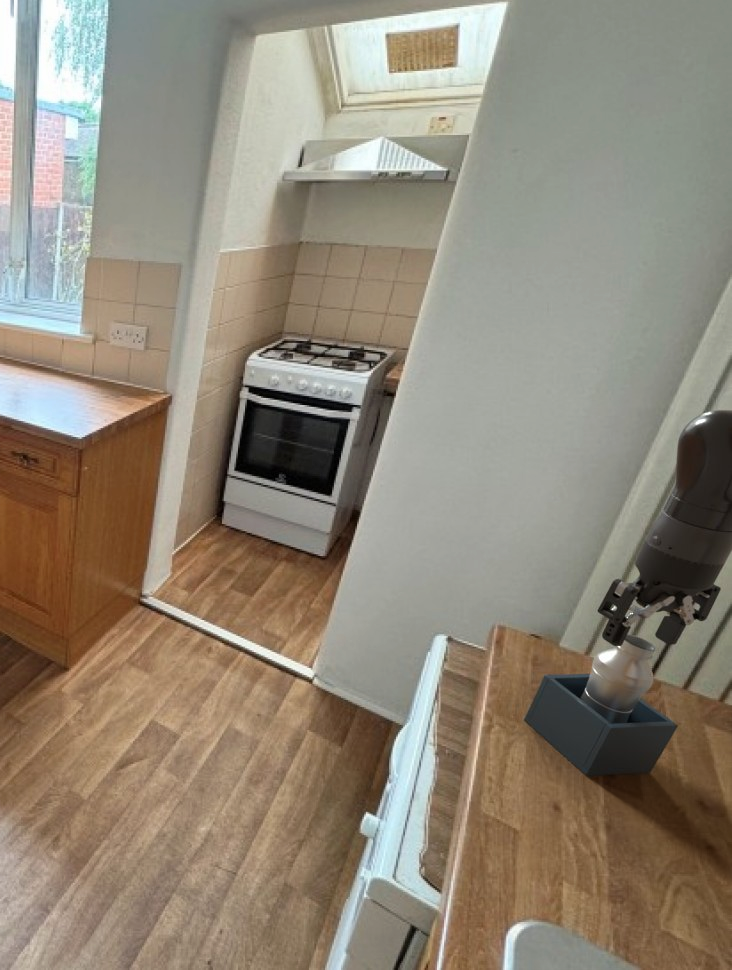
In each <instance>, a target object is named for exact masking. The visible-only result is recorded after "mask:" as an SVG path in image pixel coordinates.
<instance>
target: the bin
mask: <svg viewBox="0 0 732 970" xmlns="http://www.w3.org/2000/svg"><path fill="white" fill-rule="evenodd" d="M589 677H590V673H568V674H567V673H564V674H563V673H562V674H561V673H560V674H544V675H543V678H542V680H541V682H540V684H539V686H538V688H537V690H536V692H535V695H534V697H533V699H532V702H531V703H530V706H529V708H528V710H527V713H526V715H525V717H524V718H523V721H524V722H525V723H526V724H528V726H529V727H531V728H532V729H533V730H534V732H536V733H537V734H539V735H540V736H541V737H542V738H543V739H544V740H545V741H546V742H547V743H548V744H550V745H551V746H552V747H553V748H554V749H555V750H557V752H559V754H561V755H562V756H563V757H564V758H565V759H566V760H568V761H569V762H570V763H571V764H572V765H573V766H574V767H576V769H578V770H579V771H580V772H581V773H582V774H583V775H584V776H586V777H589V776H590V777H591V776H593V777H594V776H614V775H615V776H616V775H618V776H619V775H637V774H651V773H652V771H653V769H654V768H655V766H656V764H657V763H658V761H659V759H660V757H661V756H662V754H663V752H664V751H665V749H666V748H667V745H668V744H669V742H670V741H671V739H672V737H673V736H674V734H675V732H676V730H677V728H678V727H679V724H677V723H676V722H674V720H672V719H670V718H669V717H668V716H666V715H665V714H663V713H661V712H660V711H659V710H657V709H656V708H654V707H653V706H652V705H651V704H650V703H648V702H646V701H645V700H644V699H642V698H641V699H640V700H639V701H638V702H637V704H636V706H635V707H634V709H633V710H632V712H631V713H630V715H629V718H628V721H627V723H616V724H611V723H610V722H608V721H607V720H606V719H605V718H603V717H602V716H601V715H600V714H598V713H597V712H596V711H594V710H593V709H592V708H591V707H589V706H588V705H587V704H586V703H584V702H583V701H582V700H580V697H581V696H582V694H583V693H584V690H585V688H586V685H587V682H588V680H589Z"/></svg>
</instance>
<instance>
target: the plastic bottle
mask: <svg viewBox="0 0 732 970" xmlns="http://www.w3.org/2000/svg"><path fill="white" fill-rule="evenodd" d="M655 651H656V646H654V645H653V644H652V643H651V642H649V641H648V640H646V639H644V638H643V637H640V636H637V635H633V634H629V633H628V634H627V636H626V638H625V640H624V642H623V644H622V645H621V646H614V647H613V648H609V649H606V650H603V651H600V652H599V653H597V654H596V655H595V656H594V657H593V659H592V664H591V668H590V673H589V674H590V677H589V680H588V682H587V685H586V688H585V690H584V693H583V694H582V696H581V697H580V700H582V701H583V702H584V703H586V704H587V705H588V706H589V707H591V708H592V709H593V710H594V711H596V712H597V713H598V714H600V715H601V716H602V717H603V718H605V719H606V720H607V721H608V722H610V723H611V724H616V723H627V721H628V718H629V715H630V713H631V712H632V710H633V709H634V707H635V706H636V704H637V702H638V701H639V700H640V699H642V698H643V697H644V696H645V695H646V694H647V692H648V691H649V690H650V689H651V687H652V686H653V684H654V674H653V670H652V668H651V665H650V663H649V661H651V660H652V659H653V655H654V653H655Z"/></svg>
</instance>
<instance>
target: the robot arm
mask: <svg viewBox="0 0 732 970" xmlns="http://www.w3.org/2000/svg"><path fill="white" fill-rule="evenodd" d="M676 446H677V447H676V463H675V483H674V486H673V488H672V489H671V492H670V493H669V496H668V497H667V499H666V501H665V504H664V506H663V509H662V510H661V512H660V513H659V515H658V516H657V517H656V518H655V520H654V521H653V523H652V525H651V528H650V529H649V531H648V533H647V536H646V538H645V540H644V542H643V544H642V546H641V548H640V549H639V552H638V554H637V557H636V559H635V561H634V565H635V567H636V569H637V571H638V572H639V575H638V577H637V578H636V579H635V580H634V581H633V582H625V581H624V580H622V579H620V578H616V579H613V581H612V582H611V584H610V585H609V587H608V589H607V592H606V593H605V595H604V597H603V599H602V601H601V603H600V605H599V607H598V608H597V613H598V614H600V615H601V616H603V617H604V618H606V619H608V620H607V622H606V625H605V627H604V629H603V631H602V633H601V638H602V639H603V640H604V641H606V642H607V643H609V644H610V645H612V646H613V647H615V646H621V645H622V644H623V642H624V640H625V638H626V636H627V634H629V632H630V630H631V628H632V625H634V624H635V623H636V622H637V621H639V620H640V619H648V618H650V617H651V616H652V615H654V614H655V613H661V612H666V615H664V616H663V618H662V620H661V622H660V623H659V625H658V627H657V629H656V631H655V633H654V636H655V637H656V638H657V639H658V640H659V641H661V642H663V643H665V644H667V645H668V646H670V645H676V644H677V643H678V641H679V639H680V638H681V636H682V634H683V632H684V630H685V628H686V626H690V625H692V624H693V623H694V622H695V621H699V622H704V621H706V620H707V619H708V617H709V615H710V613H711V610H712V608H713V607H714V604H715V603H716V600H717V599H718V596H719V594H720V592H721V590H722V589H721V587H720V586H719V585H716V584H715V582H716V581H717V579H718V577H719V575H720V573H721V571H722V569H723V568H724V566H725V564H726V562H727V560H728V559H729V557H730V555H731V553H732V410H731V409H717V410H710V411H706V412H703V413H701V414H698V415H696V416H695V417H694V418H693V419H691V420H690V421H688V423H687V424H686V425H685V426H684V428H683V429H682V430H681V432H680V434H679V437H678V441H677V445H676ZM634 601H635V602H636V604H637V605H639V606H640V607H638V606H637V605H635V604H633V603H634ZM695 604H697V605H698V606H699V607H698V609H696V608H694V605H695ZM612 606H614V607H613V608H612ZM641 607H642V608H641ZM629 611H631V613H630V614H628V615H627V613H628V612H629ZM626 615H627V616H626Z"/></svg>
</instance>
